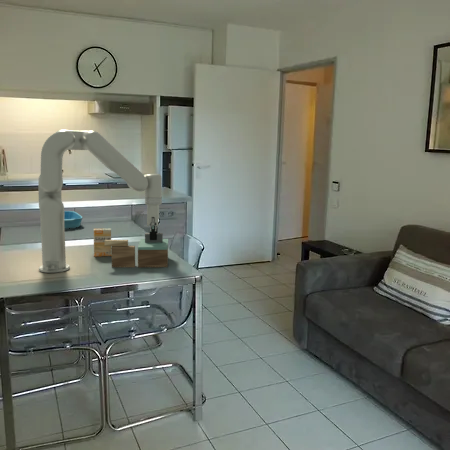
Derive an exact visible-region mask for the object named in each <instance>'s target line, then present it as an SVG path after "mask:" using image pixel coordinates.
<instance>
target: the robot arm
mask: <svg viewBox="0 0 450 450" xmlns="http://www.w3.org/2000/svg"><path fill="white" fill-rule="evenodd" d="M67 151H89V152H90V154H92V155H93V156H94V157H95V158H96V159H97V160H98V161H99V162H101V164H103V166H105V167H106V168H107V169H109V171H111V172H113V173H114V174H116V175H117V176H119V177H120V178H121V179H122V180H123V181H125V182H126V184H127V186H128V188H129V189H131V190H132V191H135V192H139V193H141V192H144V205H146V206H147V207H146V213H147V214H146V219H147V220H146V221H147V222H146V223H147V224H146V227H149V233H150V240H157V233H159V231H158V228H159V227H158V226H159V219H160V205H162V201H163V200H162V195H163V194H162V193H163V192H162V191H163V190H162V184H163V180H162V175H161V174H159V173H147V174H146V173H145V174H144V173H143V172H141V170H139V168H137V167H136V166H135V165H134V164H133V163H132V162H131V161H129V160H128V159H127V158H126V157H125V156H124V155H123V154H122V153H121V152H120V151H118V149H116V148H115V147H114V146H113V144H111V143H110V142H109V141H108V140H107V138H105V137H104V136H103V135H101V133H99V132H98V131H96V130H71V129H70V130H69V129H59V130H57V131H55V133H53V134H51V135H49V137H48V138H47V139H46V140H45V142H44V143H43V146H42V148H41V153H40V174H39V176H38V183H37V184H38V185H37V186H38V187H37V188H38V190H37V191H38V208H39V217H40V218H39V219H40V236H41V237H40V239H41V260H42V265H40V266H38V271H39V272H41V273H48V274H49V273H50V274H55V273H62V272H67V271H68V270H70V267H71V266H70V264H68V263H67V259H66V257H67V256H66V255H67V254H66V233H65V229H64V211H65V206H64V203H63V201H62V189H63V188H62V187H63V186H64V180H63V179H64V178H63V159H64V154H65V153H66V152H67Z"/></svg>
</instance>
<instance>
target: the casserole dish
mask: <svg viewBox="0 0 450 450" xmlns="http://www.w3.org/2000/svg"><path fill="white" fill-rule="evenodd" d="M82 220H83V216H82V215H81V214H79V213H78V212H76V211H74V210H73V211H72V210H64V230H66V229H69V228H70V229H76V227H77V228H79V227H80V226H81V224H82Z"/></svg>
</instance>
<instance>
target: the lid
mask: <svg viewBox="0 0 450 450" xmlns="http://www.w3.org/2000/svg"><path fill="white" fill-rule="evenodd" d="M163 233H164V232H158V233H157V240H150V232H145V233H144V238H140V240H139V243H138V246H137V251H138V250H168V251H169V238H164V235H163Z"/></svg>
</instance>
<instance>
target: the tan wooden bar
mask: <svg viewBox="0 0 450 450" xmlns="http://www.w3.org/2000/svg"><path fill="white" fill-rule="evenodd" d="M104 242H105V246H111V247H112V246H129V239H111V240H105V241H104Z"/></svg>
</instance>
